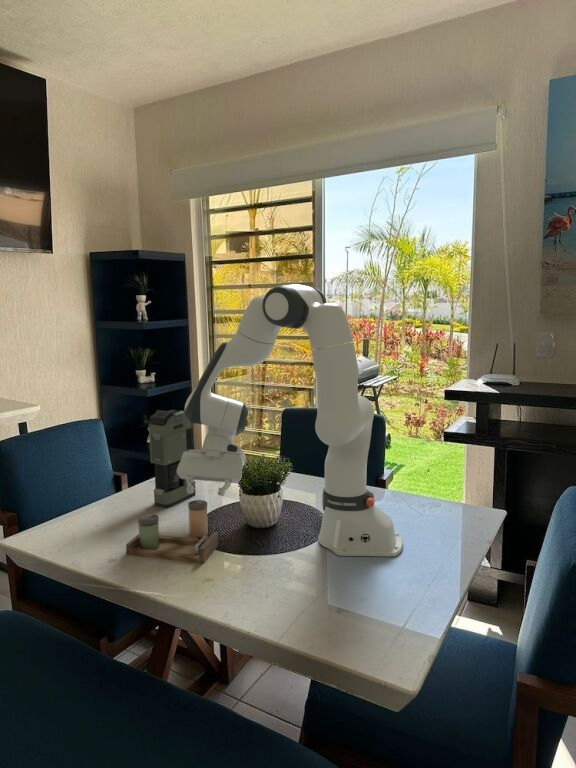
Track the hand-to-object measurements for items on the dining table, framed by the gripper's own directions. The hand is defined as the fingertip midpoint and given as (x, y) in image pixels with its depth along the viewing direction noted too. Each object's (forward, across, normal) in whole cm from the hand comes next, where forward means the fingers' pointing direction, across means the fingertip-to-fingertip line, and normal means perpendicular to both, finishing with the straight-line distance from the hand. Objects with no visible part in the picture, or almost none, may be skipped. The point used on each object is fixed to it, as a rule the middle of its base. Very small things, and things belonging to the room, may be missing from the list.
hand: (205, 493), depth 155 cm
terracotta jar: (+11, 0, +3) cm, 11 cm away
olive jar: (+18, -9, -5) cm, 21 cm away
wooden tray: (+19, -2, -5) cm, 19 cm away
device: (-5, -18, +19) cm, 27 cm away
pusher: (+18, +6, -5) cm, 20 cm away
